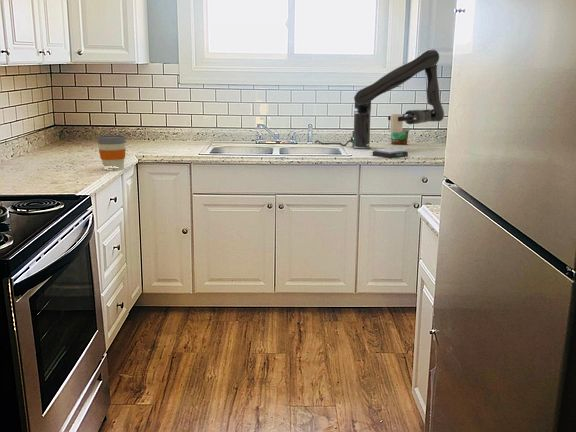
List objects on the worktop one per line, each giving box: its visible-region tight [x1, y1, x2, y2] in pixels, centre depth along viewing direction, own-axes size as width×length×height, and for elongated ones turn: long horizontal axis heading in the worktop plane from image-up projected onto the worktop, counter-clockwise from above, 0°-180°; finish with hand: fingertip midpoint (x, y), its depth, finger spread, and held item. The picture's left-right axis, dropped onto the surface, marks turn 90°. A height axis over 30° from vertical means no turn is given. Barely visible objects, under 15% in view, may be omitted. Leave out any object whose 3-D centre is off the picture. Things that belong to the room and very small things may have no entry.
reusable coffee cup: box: [97, 134, 127, 171], centre depth 287 cm, size 13×12×15 cm
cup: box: [389, 113, 404, 133], centre depth 327 cm, size 6×6×9 cm
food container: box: [390, 127, 411, 146], centre depth 369 cm, size 12×6×10 cm, turn 62°
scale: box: [371, 147, 409, 159], centre depth 324 cm, size 13×13×3 cm
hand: (393, 118), depth 325 cm, fingers closed on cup, 6 cm apart
